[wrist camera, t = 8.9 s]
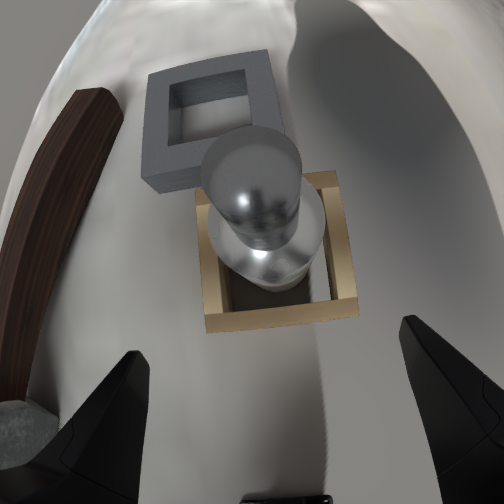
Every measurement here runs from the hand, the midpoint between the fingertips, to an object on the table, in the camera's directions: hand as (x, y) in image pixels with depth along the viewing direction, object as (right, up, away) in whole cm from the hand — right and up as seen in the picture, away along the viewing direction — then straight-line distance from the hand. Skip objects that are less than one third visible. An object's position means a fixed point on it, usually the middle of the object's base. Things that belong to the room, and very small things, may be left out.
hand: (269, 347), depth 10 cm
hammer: (-16, +1, +12) cm, 20 cm away
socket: (-3, +12, +12) cm, 17 cm away
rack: (+1, +3, +10) cm, 10 cm away
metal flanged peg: (+1, +3, +10) cm, 10 cm away
